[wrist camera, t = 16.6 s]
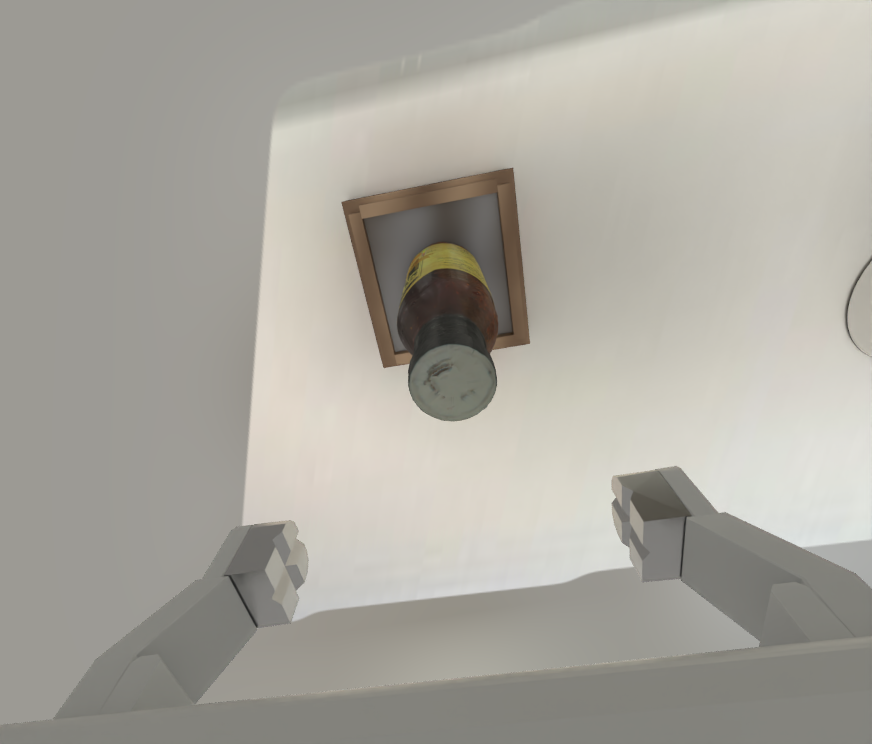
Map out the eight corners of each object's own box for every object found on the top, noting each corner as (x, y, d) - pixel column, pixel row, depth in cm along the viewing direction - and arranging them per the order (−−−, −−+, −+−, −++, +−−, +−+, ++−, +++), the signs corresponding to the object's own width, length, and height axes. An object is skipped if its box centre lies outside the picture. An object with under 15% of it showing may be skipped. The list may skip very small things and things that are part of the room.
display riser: (507, 168, 36) (515, 167, 32) (523, 333, 42) (532, 347, 39) (348, 200, 37) (338, 202, 34) (386, 356, 43) (382, 372, 40)
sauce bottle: (405, 242, 35) (370, 307, 17) (479, 237, 35) (523, 298, 17) (411, 317, 38) (387, 441, 20) (480, 313, 38) (520, 435, 20)
